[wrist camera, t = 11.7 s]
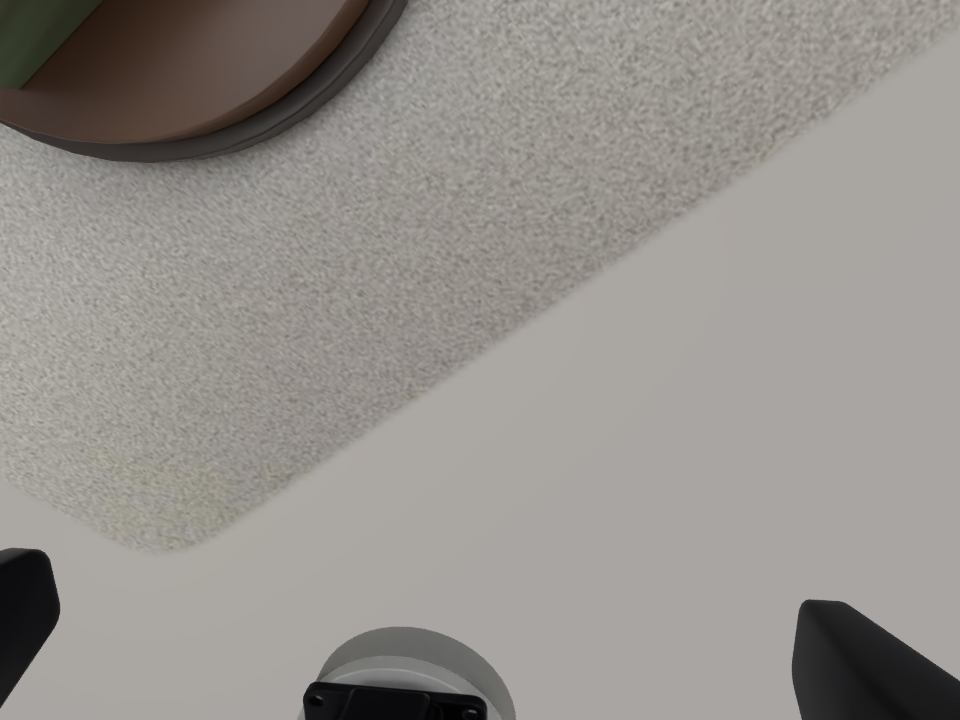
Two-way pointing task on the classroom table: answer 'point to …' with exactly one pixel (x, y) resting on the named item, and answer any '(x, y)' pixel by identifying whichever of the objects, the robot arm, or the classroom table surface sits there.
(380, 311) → the classroom table surface
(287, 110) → the rack stand
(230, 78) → the plate holder
